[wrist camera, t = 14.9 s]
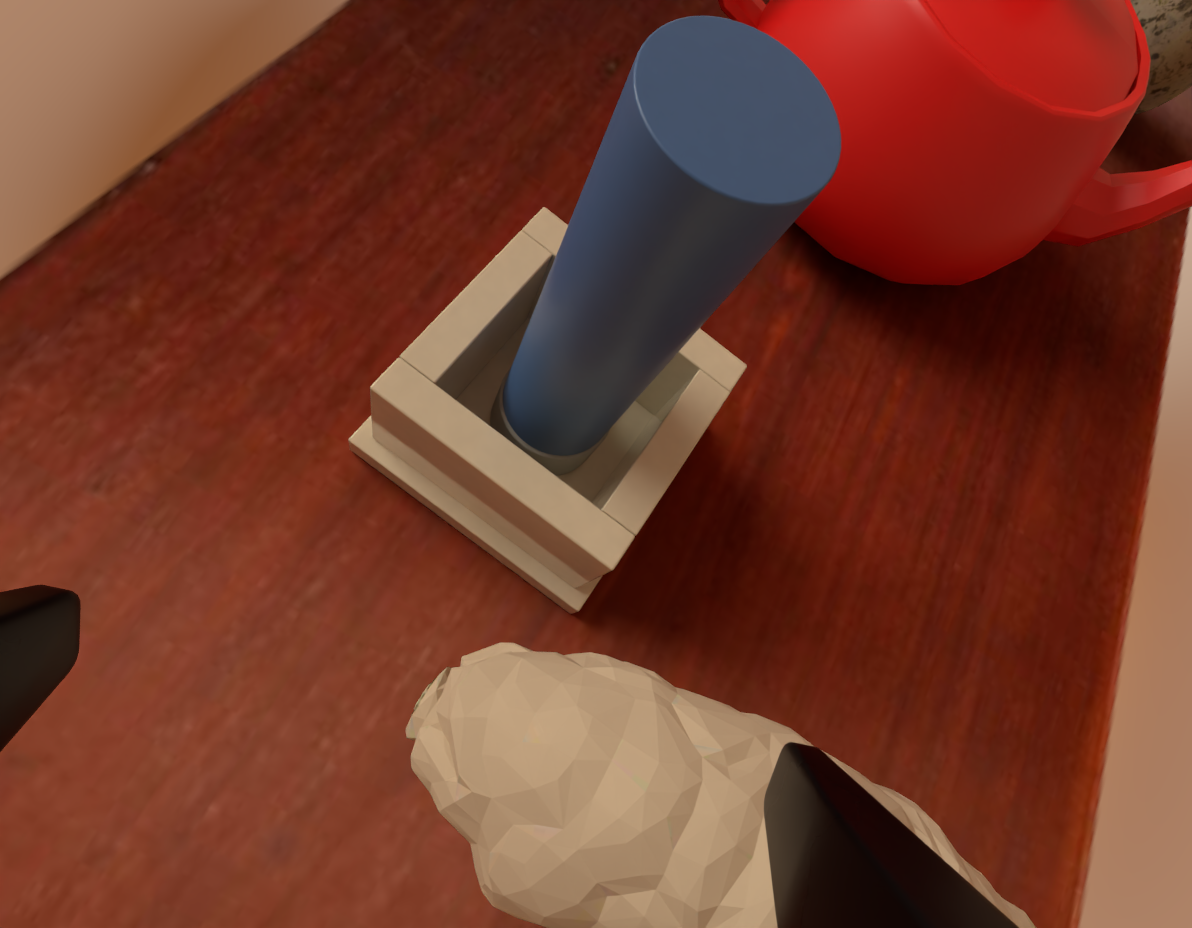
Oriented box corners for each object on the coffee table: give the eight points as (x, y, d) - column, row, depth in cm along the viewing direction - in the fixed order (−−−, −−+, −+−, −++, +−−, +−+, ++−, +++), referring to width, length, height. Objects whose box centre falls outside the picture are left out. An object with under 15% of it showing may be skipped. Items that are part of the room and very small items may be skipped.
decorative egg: (1045, 116, 38) (1251, -60, 29) (1044, 44, 41) (1236, -142, 31) (1128, 158, 40) (1352, 1, 30) (1123, 85, 42) (1330, -82, 33)
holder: (570, 615, 22) (618, 597, 18) (348, 449, 22) (339, 388, 17) (700, 420, 26) (767, 364, 22) (512, 274, 26) (540, 185, 21)
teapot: (578, 143, 28) (703, -205, 17) (708, -54, 34) (863, -406, 23) (1053, 439, 31) (1425, 305, 20) (1096, 208, 37) (1399, 7, 26)
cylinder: (537, 498, 22) (743, 251, 9) (466, 411, 22) (576, 53, 10) (617, 437, 24) (889, 151, 11) (551, 355, 24) (742, -19, 11)
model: (471, 595, 22) (534, 530, 13) (919, 851, 24) (1258, 957, 14) (350, 800, 19) (321, 907, 10) (864, 1071, 21) (1236, 1373, 12)
